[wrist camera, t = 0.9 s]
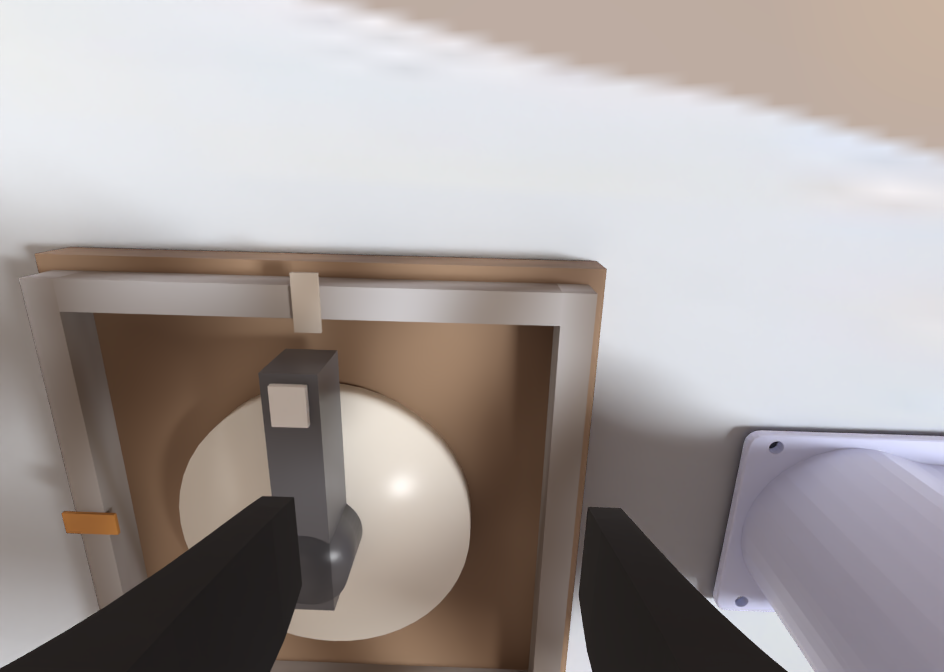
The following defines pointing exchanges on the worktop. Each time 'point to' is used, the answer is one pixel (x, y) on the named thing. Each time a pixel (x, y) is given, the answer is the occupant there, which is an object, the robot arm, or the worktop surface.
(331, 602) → the dial
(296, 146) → the worktop surface
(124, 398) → the dial housing
